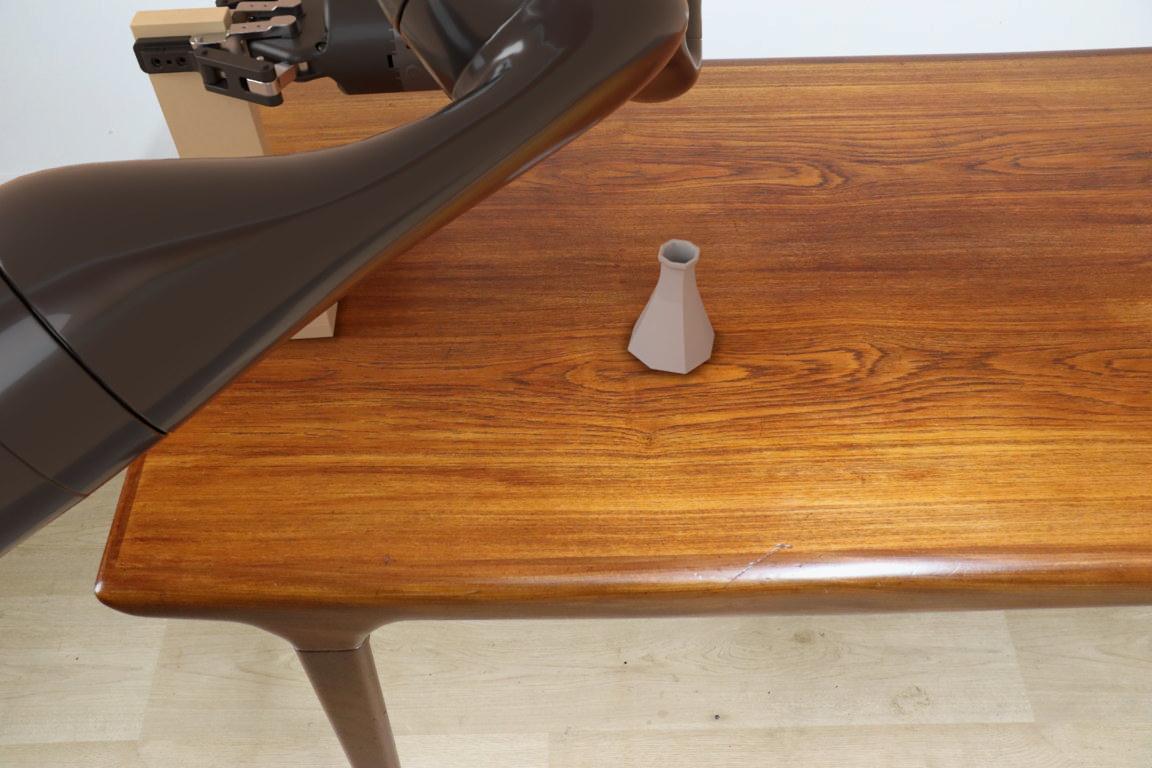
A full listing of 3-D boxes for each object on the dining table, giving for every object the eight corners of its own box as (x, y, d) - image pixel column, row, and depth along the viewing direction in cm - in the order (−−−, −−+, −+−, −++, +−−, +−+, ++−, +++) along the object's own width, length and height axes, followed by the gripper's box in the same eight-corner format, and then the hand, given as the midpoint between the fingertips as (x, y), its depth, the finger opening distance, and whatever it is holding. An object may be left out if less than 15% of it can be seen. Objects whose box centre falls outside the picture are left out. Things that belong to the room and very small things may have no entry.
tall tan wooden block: (284, 194, 73) (228, 5, 62) (280, 210, 72) (223, 20, 61) (205, 199, 73) (136, 10, 62) (200, 215, 72) (128, 24, 61)
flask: (690, 387, 77) (700, 294, 69) (612, 354, 79) (614, 262, 72) (728, 334, 81) (742, 241, 74) (653, 304, 84) (660, 212, 76)
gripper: (402, -67, 65) (147, -55, 65) (389, 28, 56) (91, 43, 55) (417, 37, 71) (182, 49, 70) (408, 139, 61) (137, 154, 61)
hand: (143, 46), depth 63 cm, fingers closed on tall tan wooden block, 2 cm apart
